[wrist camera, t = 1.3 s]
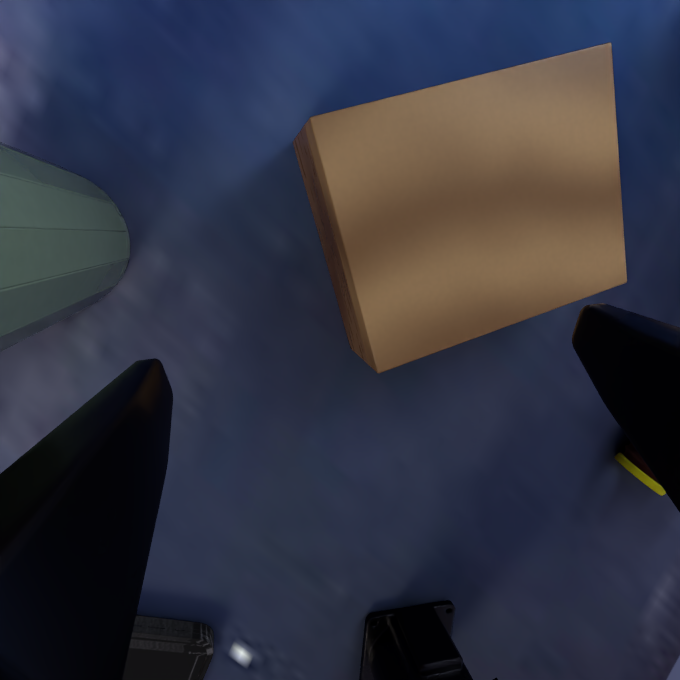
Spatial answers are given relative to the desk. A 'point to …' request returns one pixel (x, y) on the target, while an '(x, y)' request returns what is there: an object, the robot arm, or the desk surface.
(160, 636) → the phone
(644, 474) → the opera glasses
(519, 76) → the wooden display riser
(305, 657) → the desk surface
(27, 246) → the pen cup
